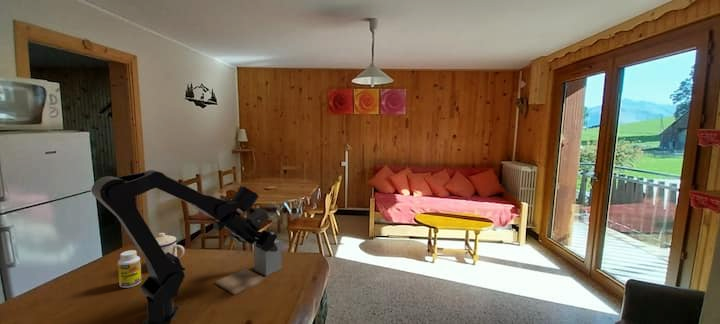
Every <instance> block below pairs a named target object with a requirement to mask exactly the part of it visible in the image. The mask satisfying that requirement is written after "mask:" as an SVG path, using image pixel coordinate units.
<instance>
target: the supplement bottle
mask: <svg viewBox="0 0 720 324" xmlns="http://www.w3.org/2000/svg"><path fill="white" fill-rule="evenodd" d="M117 270H118V283H119V284H118V285H119V287H120V288H123V289H124V288H125V289H127V288H132V287H135V286H138V285H139V284H141V282H142V264H141V256H139V255H138V253H137V250H135V249H134V250H133V249H132V250H131V249H129V250H126V251H123V252H122V253H120V258H119V260H118V261H117Z"/></svg>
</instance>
